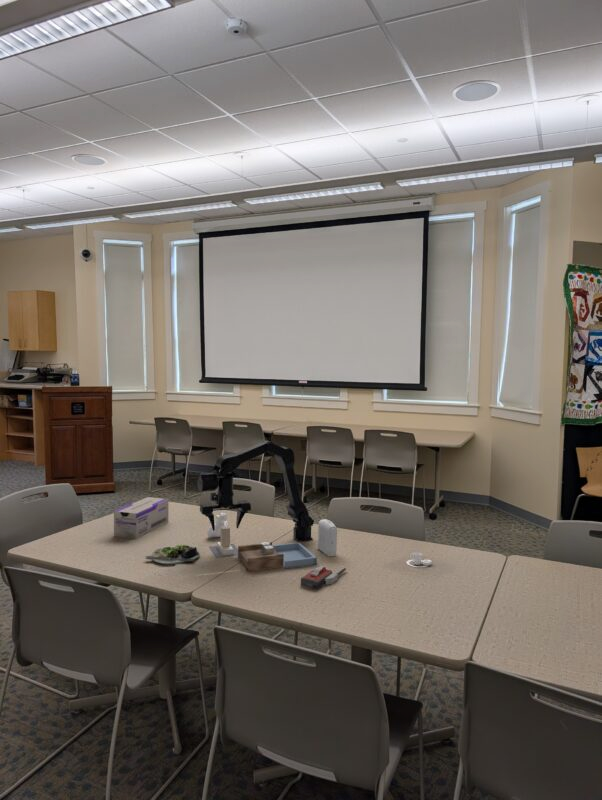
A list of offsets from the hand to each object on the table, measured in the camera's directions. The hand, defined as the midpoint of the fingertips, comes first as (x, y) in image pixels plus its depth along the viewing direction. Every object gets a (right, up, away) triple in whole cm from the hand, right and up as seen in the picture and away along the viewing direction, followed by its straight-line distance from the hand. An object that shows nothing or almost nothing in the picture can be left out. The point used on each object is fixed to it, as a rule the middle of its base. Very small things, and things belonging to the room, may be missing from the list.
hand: (225, 529), depth 210 cm
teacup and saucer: (+72, -11, -12) cm, 74 cm away
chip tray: (+26, -10, -5) cm, 28 cm away
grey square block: (+17, -7, -11) cm, 22 cm away
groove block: (+14, -10, -10) cm, 20 cm away
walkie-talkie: (+37, -12, -25) cm, 46 cm away
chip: (+16, -6, -7) cm, 18 cm away
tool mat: (0, -9, +1) cm, 9 cm away
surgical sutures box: (-40, -7, +28) cm, 49 cm away
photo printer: (+39, -9, +2) cm, 40 cm away
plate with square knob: (0, -8, 0) cm, 8 cm away
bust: (-5, -8, +19) cm, 21 cm away
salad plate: (-17, -10, -6) cm, 20 cm away
